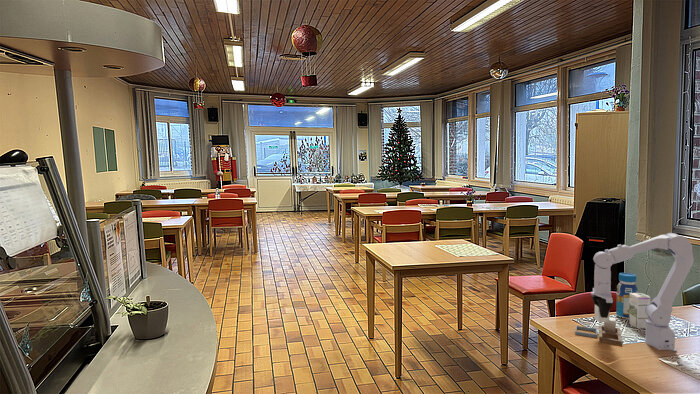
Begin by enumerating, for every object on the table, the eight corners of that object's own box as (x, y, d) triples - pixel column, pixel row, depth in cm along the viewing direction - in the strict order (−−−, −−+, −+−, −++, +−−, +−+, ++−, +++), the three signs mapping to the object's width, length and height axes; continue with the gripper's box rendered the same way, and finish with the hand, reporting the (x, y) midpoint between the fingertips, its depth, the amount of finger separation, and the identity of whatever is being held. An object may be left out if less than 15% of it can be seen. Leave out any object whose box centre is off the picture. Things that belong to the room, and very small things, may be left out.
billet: (603, 330, 180) (604, 316, 180) (615, 332, 178) (615, 318, 178) (604, 333, 177) (604, 319, 176) (615, 335, 175) (615, 321, 174)
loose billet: (605, 318, 174) (605, 304, 174) (609, 322, 170) (609, 307, 170) (594, 318, 175) (594, 304, 175) (598, 321, 171) (598, 307, 171)
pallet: (598, 330, 183) (598, 325, 183) (619, 333, 179) (619, 328, 179) (599, 343, 169) (599, 338, 169) (621, 347, 165) (621, 341, 165)
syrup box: (650, 329, 183) (651, 296, 182) (636, 329, 183) (637, 296, 182) (641, 325, 189) (642, 292, 188) (628, 325, 189) (629, 292, 188)
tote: (575, 330, 183) (576, 325, 183) (596, 333, 180) (597, 328, 179) (575, 336, 177) (575, 331, 177) (597, 339, 173) (597, 334, 173)
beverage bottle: (619, 312, 206) (620, 271, 205) (639, 317, 199) (641, 274, 198) (612, 316, 200) (613, 274, 199) (633, 321, 194) (634, 277, 193)
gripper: (584, 277, 180) (584, 309, 180) (598, 286, 165) (598, 321, 166) (603, 277, 179) (602, 310, 179) (618, 287, 164) (618, 321, 165)
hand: (601, 315), depth 173 cm, fingers closed on loose billet, 4 cm apart
